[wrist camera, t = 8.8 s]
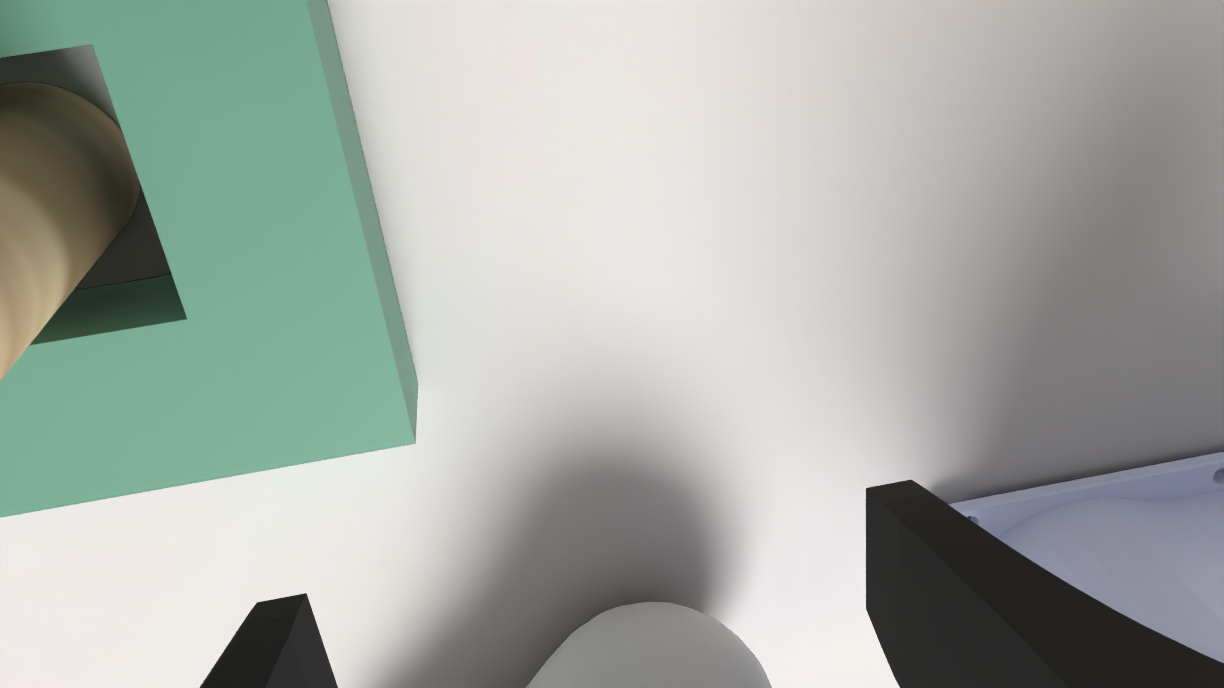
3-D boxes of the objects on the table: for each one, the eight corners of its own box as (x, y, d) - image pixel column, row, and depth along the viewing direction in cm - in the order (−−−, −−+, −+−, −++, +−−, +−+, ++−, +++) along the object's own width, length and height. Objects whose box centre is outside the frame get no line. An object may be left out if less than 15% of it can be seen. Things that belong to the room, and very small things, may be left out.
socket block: (274, -222, 17) (249, -230, 15) (418, 384, 23) (415, 443, 21) (-475, -127, 16) (-619, -121, 14) (-137, 480, 22) (-201, 553, 20)
